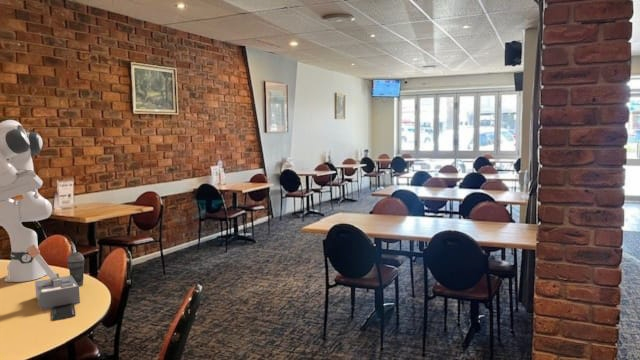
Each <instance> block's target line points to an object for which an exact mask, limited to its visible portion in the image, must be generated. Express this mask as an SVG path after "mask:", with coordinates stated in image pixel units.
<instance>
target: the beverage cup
mask: <svg viewBox="0 0 640 360" xmlns="http://www.w3.org/2000/svg"><path fill="white" fill-rule="evenodd" d="M71 247H72V251H73V252H71V253H70V254H69V255H68V257H67V261H66V263H67V267H68V270H69V276H70V275H72V277H73V278H74V280H75V281H76V283H77V284H78V286H79V287H82V286H84V277H85V276H84V274H85V271H84V269H85V267H84V265H85V257H84V256H83V254H82V253H81V252H78V251H75V248H74V243H73V242H71Z"/></svg>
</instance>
